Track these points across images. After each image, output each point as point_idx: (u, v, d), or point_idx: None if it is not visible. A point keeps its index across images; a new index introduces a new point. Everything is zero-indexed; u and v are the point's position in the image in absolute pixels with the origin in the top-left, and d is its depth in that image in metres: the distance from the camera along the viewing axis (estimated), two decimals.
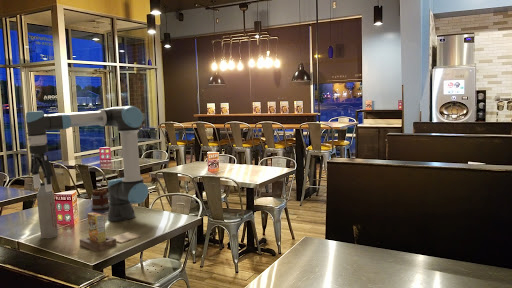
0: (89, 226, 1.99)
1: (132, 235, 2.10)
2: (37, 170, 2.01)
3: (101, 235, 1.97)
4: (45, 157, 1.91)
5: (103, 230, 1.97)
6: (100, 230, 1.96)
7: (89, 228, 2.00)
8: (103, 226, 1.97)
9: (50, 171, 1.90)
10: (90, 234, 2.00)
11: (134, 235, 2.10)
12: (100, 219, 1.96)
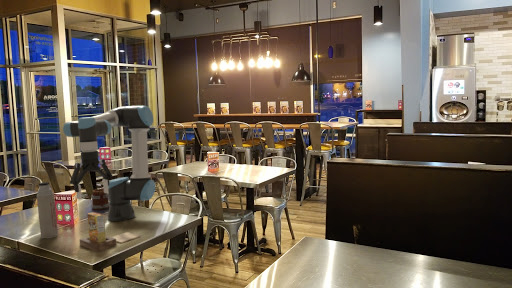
0: (89, 226, 1.99)
1: (132, 235, 2.10)
2: (103, 175, 2.01)
3: (101, 235, 1.97)
4: (76, 164, 1.91)
5: (103, 230, 1.97)
6: (100, 230, 1.96)
7: (89, 228, 2.00)
8: (103, 226, 1.97)
9: (72, 179, 1.89)
10: (90, 234, 2.00)
11: (134, 235, 2.10)
12: (100, 219, 1.96)
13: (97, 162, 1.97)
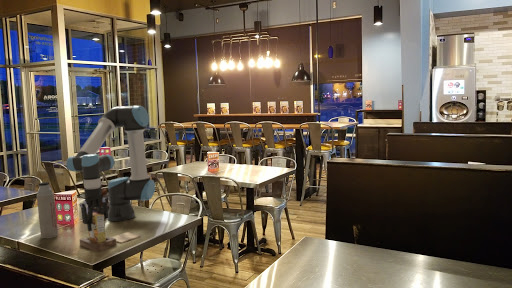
0: None
1: (132, 235, 2.10)
2: None
3: (101, 235, 1.97)
4: (80, 206, 1.93)
5: (103, 230, 1.97)
6: (100, 230, 1.96)
7: None
8: (103, 226, 1.97)
9: (84, 220, 1.94)
10: None
11: (134, 235, 2.10)
12: (100, 219, 1.96)
13: (100, 198, 1.99)
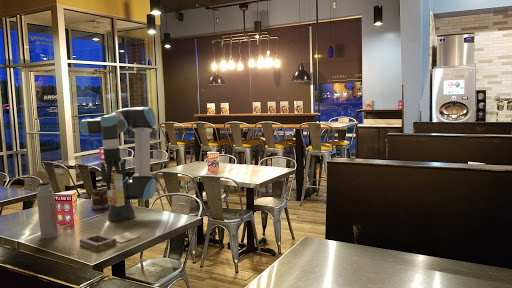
0: None
1: (132, 235, 2.10)
2: None
3: (120, 194, 2.02)
4: (100, 165, 1.98)
5: (121, 189, 2.03)
6: (118, 188, 2.01)
7: None
8: (121, 185, 2.02)
9: (103, 179, 1.99)
10: None
11: (134, 235, 2.10)
12: (119, 178, 2.01)
13: (119, 158, 2.05)
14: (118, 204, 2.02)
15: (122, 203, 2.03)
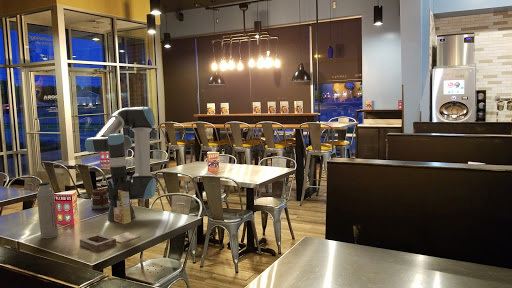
0: None
1: (132, 235, 2.10)
2: None
3: (126, 211, 2.04)
4: (107, 183, 2.01)
5: (128, 206, 2.05)
6: (125, 206, 2.04)
7: None
8: (128, 203, 2.05)
9: (110, 196, 2.02)
10: None
11: (134, 235, 2.10)
12: (125, 196, 2.04)
13: (125, 176, 2.07)
14: (124, 221, 2.04)
15: (128, 220, 2.06)
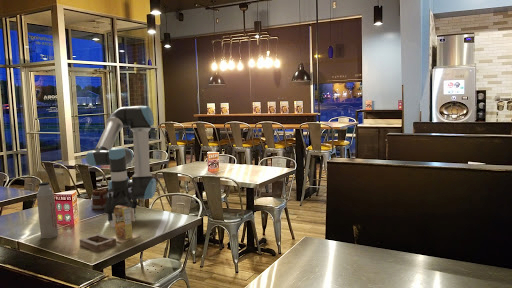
0: (116, 218, 2.08)
1: (132, 235, 2.10)
2: (130, 204, 2.11)
3: (128, 227, 2.06)
4: (107, 194, 2.01)
5: (130, 222, 2.06)
6: (127, 222, 2.05)
7: (116, 220, 2.08)
8: (130, 218, 2.06)
9: (106, 209, 2.00)
10: (117, 226, 2.08)
11: (134, 235, 2.10)
12: (127, 212, 2.05)
13: (126, 190, 2.08)
14: (126, 237, 2.05)
15: (130, 236, 2.07)
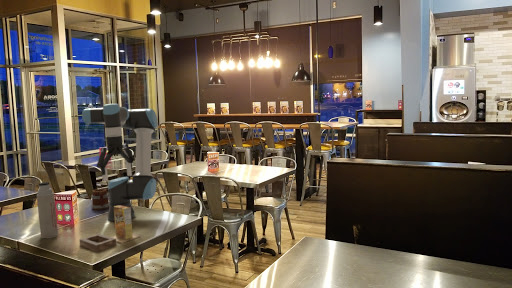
0: (116, 218, 2.08)
1: (132, 235, 2.10)
2: (127, 159, 2.11)
3: (128, 227, 2.06)
4: (102, 149, 2.01)
5: (130, 222, 2.06)
6: (127, 221, 2.05)
7: (116, 220, 2.08)
8: (130, 218, 2.06)
9: (99, 163, 1.99)
10: (117, 226, 2.08)
11: (134, 235, 2.10)
12: (127, 212, 2.05)
13: (121, 146, 2.08)
14: (126, 237, 2.05)
15: (130, 236, 2.07)
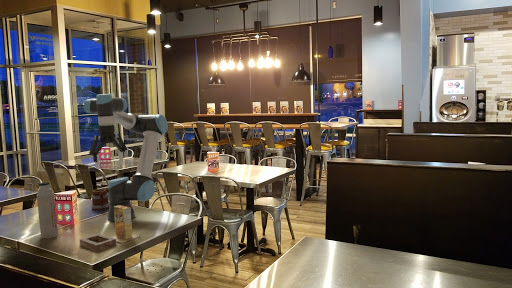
0: (116, 218, 2.08)
1: (132, 235, 2.10)
2: (119, 148, 2.18)
3: (128, 227, 2.06)
4: (94, 137, 2.08)
5: (130, 222, 2.06)
6: (127, 222, 2.05)
7: (116, 220, 2.08)
8: (130, 218, 2.06)
9: (91, 150, 2.06)
10: (117, 226, 2.08)
11: (134, 235, 2.10)
12: (127, 212, 2.05)
13: (113, 135, 2.15)
14: (126, 237, 2.05)
15: (130, 236, 2.07)
